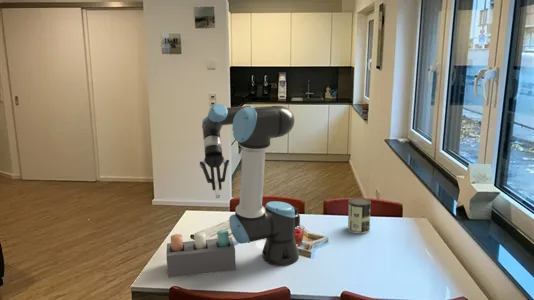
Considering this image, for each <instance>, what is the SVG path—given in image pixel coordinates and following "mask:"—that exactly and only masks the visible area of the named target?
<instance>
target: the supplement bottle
mask: <svg viewBox="0 0 534 300" xmlns="http://www.w3.org/2000/svg"><path fill="white" fill-rule="evenodd" d="M293 208H294V212H295V227H297V226H300V225H301V216H300V214H299V209H298V207H295V206H293ZM300 227H301V226H300Z"/></svg>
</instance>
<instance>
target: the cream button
mask: <svg viewBox="0 0 534 300" xmlns="http://www.w3.org/2000/svg"><path fill="white" fill-rule="evenodd" d="M206 235H207V234H206V232H204V231H203V232H202V231H200V232H199V231H198V232H195V233H194V234H193V238H194V240H193V241H195V250H199V249H206V240H207V237H206Z"/></svg>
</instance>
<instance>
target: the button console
mask: <svg viewBox="0 0 534 300" xmlns="http://www.w3.org/2000/svg"><path fill="white" fill-rule="evenodd" d="M232 237H233V236H232ZM232 237H229V247H219V248H218V238H211V239H210V238H209V239H206V249H199V250H195V241H194V240H189V241H182V242H183V251H178V252H172V251H171V242H169V243H166V254H165V255H166V268H167V269H166V270H167V272H166V273H167V278H178V277H185V276H186V277H187V276H195V275H203V274H204V275H205V274H216V273H222V272H224V273H225V272H232V271H236V270H237V267H236V266H237V262H236V261H237V260H236V247H235V245H234V241H233V240H234V239H233V238H232Z"/></svg>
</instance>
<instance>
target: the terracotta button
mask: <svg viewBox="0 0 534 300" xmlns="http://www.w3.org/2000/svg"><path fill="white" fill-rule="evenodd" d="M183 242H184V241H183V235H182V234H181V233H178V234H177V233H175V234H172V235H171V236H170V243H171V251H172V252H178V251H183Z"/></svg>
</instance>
